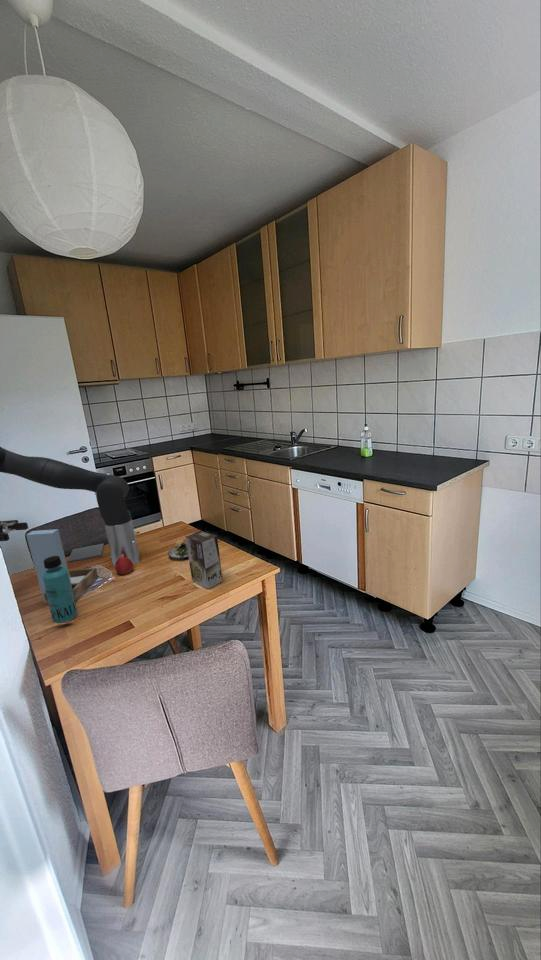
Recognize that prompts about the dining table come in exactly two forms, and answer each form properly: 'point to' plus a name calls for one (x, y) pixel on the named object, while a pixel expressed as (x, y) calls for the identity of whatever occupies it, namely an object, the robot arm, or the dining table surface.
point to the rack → (83, 584)
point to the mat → (86, 552)
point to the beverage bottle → (59, 591)
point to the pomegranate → (123, 565)
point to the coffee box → (204, 558)
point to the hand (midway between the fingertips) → (18, 531)
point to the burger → (178, 551)
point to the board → (45, 552)
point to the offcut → (76, 579)
